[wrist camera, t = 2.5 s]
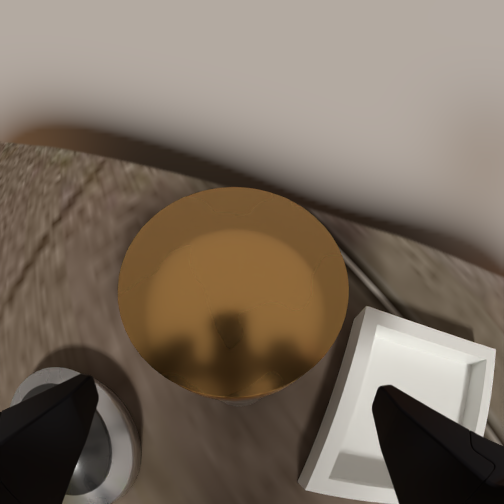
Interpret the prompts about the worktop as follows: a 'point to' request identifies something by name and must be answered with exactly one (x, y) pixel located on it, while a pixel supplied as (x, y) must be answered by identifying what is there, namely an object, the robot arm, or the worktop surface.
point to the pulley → (96, 442)
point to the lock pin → (233, 293)
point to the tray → (405, 379)
